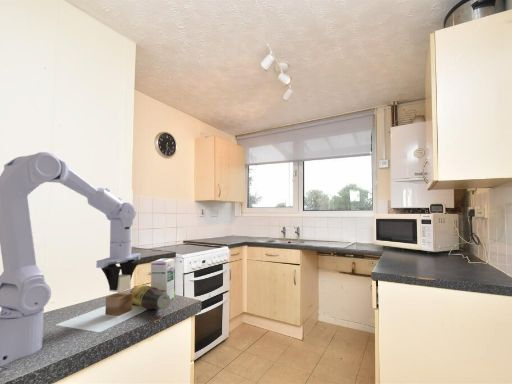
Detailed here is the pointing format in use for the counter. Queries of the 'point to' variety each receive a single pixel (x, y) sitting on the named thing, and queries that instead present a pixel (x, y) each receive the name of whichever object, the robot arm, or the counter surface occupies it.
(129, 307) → the walnut block
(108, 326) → the board
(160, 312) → the counter surface
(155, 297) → the sauce bottle
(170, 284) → the syrup box
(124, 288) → the cream block
